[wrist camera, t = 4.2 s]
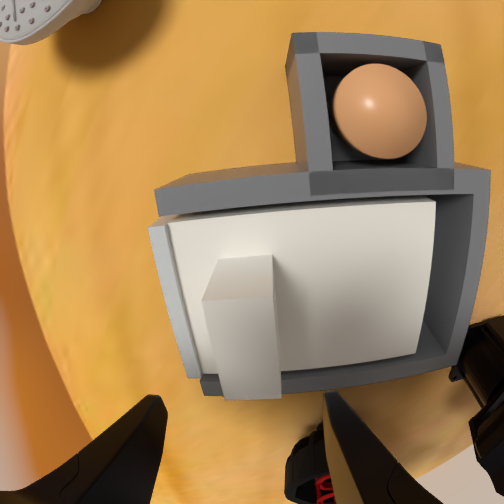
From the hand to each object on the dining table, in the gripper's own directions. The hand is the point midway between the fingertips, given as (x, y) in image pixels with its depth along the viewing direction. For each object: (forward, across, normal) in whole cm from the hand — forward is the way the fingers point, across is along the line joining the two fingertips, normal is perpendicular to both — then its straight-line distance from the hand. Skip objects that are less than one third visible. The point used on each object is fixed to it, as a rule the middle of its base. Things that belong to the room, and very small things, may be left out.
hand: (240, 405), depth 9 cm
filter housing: (+12, -5, -3) cm, 13 cm away
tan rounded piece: (+10, -7, -8) cm, 15 cm away
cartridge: (+11, -3, 0) cm, 11 cm away
